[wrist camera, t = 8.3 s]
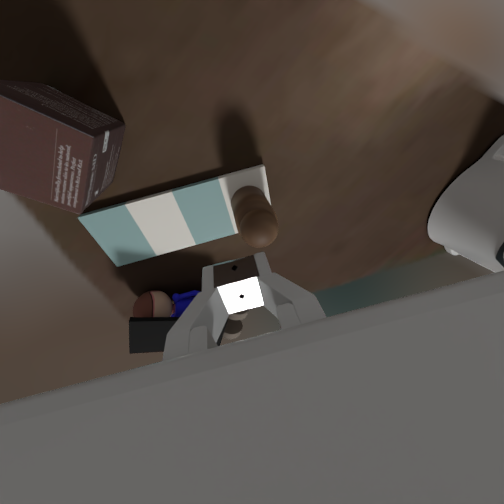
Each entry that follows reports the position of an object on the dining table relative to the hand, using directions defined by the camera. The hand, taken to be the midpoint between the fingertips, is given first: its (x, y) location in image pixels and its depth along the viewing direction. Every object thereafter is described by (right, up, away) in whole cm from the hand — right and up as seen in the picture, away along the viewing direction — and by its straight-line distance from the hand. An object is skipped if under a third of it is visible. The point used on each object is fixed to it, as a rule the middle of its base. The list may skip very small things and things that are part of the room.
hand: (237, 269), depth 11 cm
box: (-14, +11, +9) cm, 20 cm away
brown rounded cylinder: (0, +6, +14) cm, 16 cm away
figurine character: (-8, -6, +23) cm, 25 cm away
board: (-7, +5, +15) cm, 17 cm away
